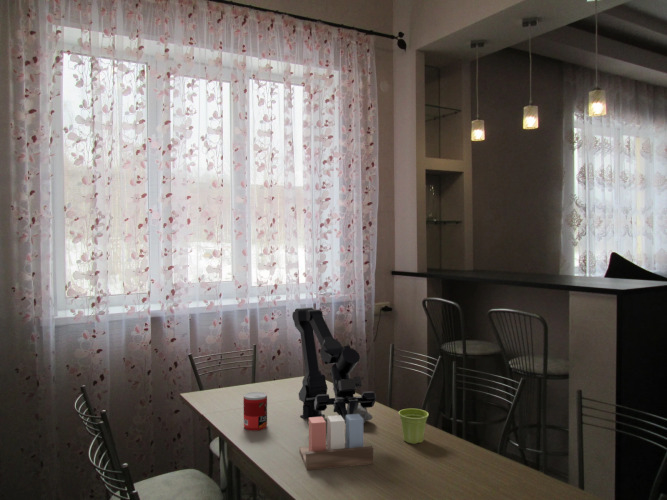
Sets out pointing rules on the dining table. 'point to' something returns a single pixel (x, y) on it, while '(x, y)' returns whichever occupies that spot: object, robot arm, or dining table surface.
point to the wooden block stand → (336, 457)
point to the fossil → (363, 413)
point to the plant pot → (413, 424)
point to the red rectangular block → (317, 434)
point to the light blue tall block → (354, 431)
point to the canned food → (255, 411)
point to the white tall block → (335, 432)
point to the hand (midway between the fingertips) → (349, 427)
